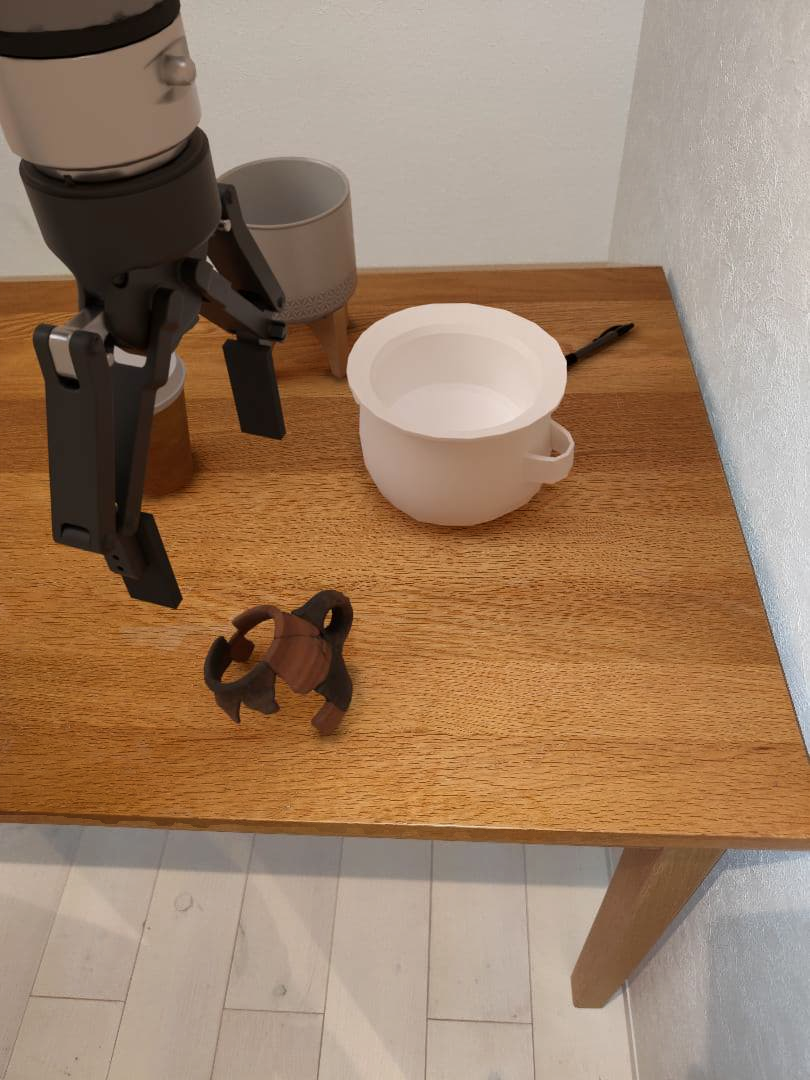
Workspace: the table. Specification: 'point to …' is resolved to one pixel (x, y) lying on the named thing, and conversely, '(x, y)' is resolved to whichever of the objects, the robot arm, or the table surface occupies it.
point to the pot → (459, 411)
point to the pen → (599, 342)
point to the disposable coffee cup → (166, 430)
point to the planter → (304, 242)
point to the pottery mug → (288, 659)
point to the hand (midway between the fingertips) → (214, 509)
